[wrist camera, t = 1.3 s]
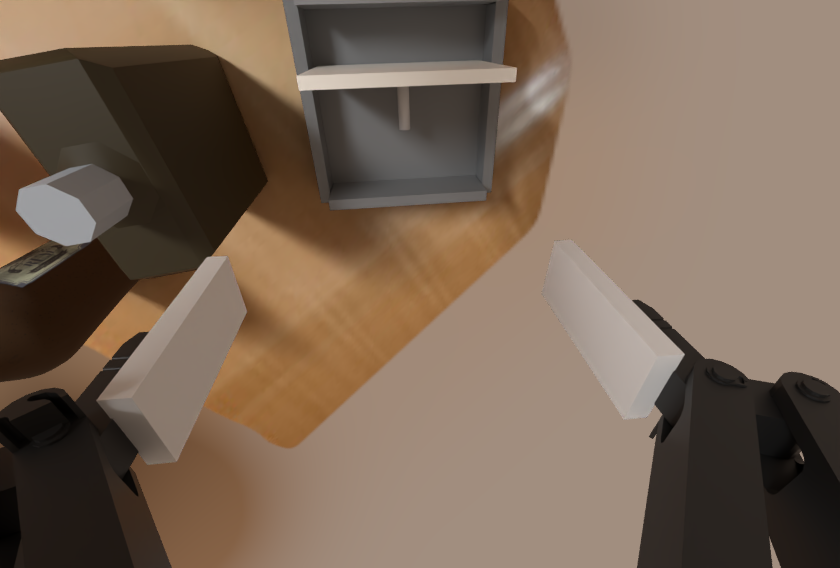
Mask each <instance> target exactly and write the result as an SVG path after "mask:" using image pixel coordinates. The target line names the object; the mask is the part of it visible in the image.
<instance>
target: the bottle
mask: <svg viewBox="0 0 840 568" xmlns="http://www.w3.org/2000/svg"><path fill="white" fill-rule="evenodd" d="M0 111H1V112H2V113H3V115H4V116H5V117H6V119H7V120H8V121H9V123H10V124H11V125H12V127H13V128H14V129H15V131H16V132H17V133H18V134H19V136H20V137H21V138H22V140H23V141H24V142H25V144H26V145H27V146H28V148H29V149H30V150H31V152H32V153H33V154H34V156H35V157H36V158H37V159H38V161H39V162H40V163H41V165H42V166H43V167H44V169H45V170H46V171H47V173H48V174H49V175H50V176H49V177H47V178H45V179H42V180H40V181H37V182H35V183H33V184H30V185H28V186H25V187H23V188H21V189H19V193H18V199H17V205H16V212H17V213H18V214H19V215H20V216H21V217H22V218H23V220H24V221H25V222H26V223H27V224H28V225H29V227H30V228H31V229H32V230H33V231H34V232H35V233H36V234H37V235H40V236H42V237H45V238H47V239H50V240H52V241H55V242H57V243H60V244H62V245H65V246H70V245H76V244H81V243H87V242H91V241H92V240H94V239H95V238H98V240H99V241H100V242H101V244H102V245H103V246H104V248H105V249H106V250H107V252H108V253H109V254H110V256H111V257H112V258H113V259H114V261H115V262H116V263H117V265H118V266H119V267H120V269H121V270H122V271H123V272H124V273H125V274H126V275H127V276H128V278H129V279H130V280H136V279H146V278H155V277H160V276H166V275H171V274H177V273H182V272H187V271H193V270H197V269H198V268H199V267H200V265H201V264H202V263H203V261H204V260H205V259H206V258H207V257H211V256H212V255H213V253H214V252H215V251H216V249H217V248H218V247H219V246H220V244H221V243H222V242H223V240H224V239H225V238H226V236H227V235H228V234H229V232H230V231H231V230H232V228H233V227H234V226H235V224H236V223H237V222H238V220H239V219H240V218H241V216H242V215H243V214H244V212H245V211H246V210H247V208H248V207H249V206H250V205H251V203H252V202H253V201H254V199H255V198H256V197H257V195H258V194H259V193H260V191H261V190H262V189H263V187H264V186H265V185H266V183H267V182H268V180H267V178H266V175H265V173H264V171H263V168H262V166H261V163H260V161H259V158H258V156H257V153H256V151H255V148H254V146H253V143H252V141H251V139H250V136H249V134H248V131H247V129H246V126H245V124H244V121H243V119H242V116H241V114H240V111H239V109H238V107H237V104H236V102H235V99H234V97H233V94H232V92H231V89H230V87H229V84H228V82H227V79H226V77H225V74H224V72H223V70H222V67H221V65H220V62H219V60H218V57H217V56H216V55H214V54H213V53H211V52H210V51H208V50H206V49H203V48H200V47H197V46H194V45H164V46H126V47H89V48H63V49H58V50H52V51H47V52H42V53H36V54H31V55H25V56H20V57H15V58H9V59H4V60H0Z"/></svg>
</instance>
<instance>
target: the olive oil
mask: <svg viewBox="0 0 840 568" xmlns="http://www.w3.org/2000/svg"><path fill="white" fill-rule="evenodd" d="M138 280H139V279H136V280H130V279H129V278H128V276H127V275H126V274H125V273H124V272H123V271H122V270H121V269H120V267H119V266H118V265H117V263H116V262H115V261H114V259H113V258H112V257H111V256H110V254H109V253H108V252H107V250H106V249H105V248H104V246H103V245H102V244H101V242H100V241H99V240H98V238H95V239H94V240H92V241H91V242H87V243H81V244H76V245H70V246H65V245H62V244H60V243H57V242H55V241H52V240H51V241H49V242H47V243H46V244H44V245H42V246H40V247H38V248H37V249H35V250H33V251H31V252H29V253H27V254H25V255H24V256H22V257H20V258H18V259H16V260H14V261H12V262H11V263H9V264H7V265H5V266H3V267H1V268H0V382H4V381H12V380H20V379H26V378H31V377H34V376H38V375H41V374H44V373H46V372H48V371H50V370H52V369H54V368H56V367H58V366H59V365H61V364H63V363H64V362H66V361H67V360H68V359H70V358H71V357H72V356H73V355H74V354H75V353H76V352H77V351H78V350H79V349H80V347H81V346H82V345H83V344H84V343H85V342H86V341H87V339H88V338H89V337H90V336H91V335H92V333H93V332H94V331H95V330H96V329H97V327H98V326H99V325H100V324H101V323H102V321H103V320H104V319H105V318H106V317H107V316H108V314H109V313H110V312H111V311H112V310H113V309H114V307H115V306H116V305H117V304H118V303H119V302H120V300H121V299H122V298H123V297H124V296H125V295H126V294H127V293H128V291H129V290H130V289H131V288H132V287H133V286H134V285H135V284H136V283H137V282H138Z"/></svg>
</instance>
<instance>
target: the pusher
mask: <svg viewBox="0 0 840 568" xmlns="http://www.w3.org/2000/svg"><path fill="white" fill-rule="evenodd" d="M516 74H517V68H516V67H511V66H506V65H501V64H496V63H491V62H486V61H481V60H467V61H439V62H411V63H383V64H355V65H327V66H317V67H315V68H312V69H310V70H308V71H306V72H304V73H302V74H299V75H297V76H296V77H297V83H298V88H299V91H303V90H328V89H353V88H378V87H397V96H398V114H399V130H410V109H409V86H427V85H452V84H477V83H502V82H516Z"/></svg>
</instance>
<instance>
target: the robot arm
mask: <svg viewBox="0 0 840 568" xmlns="http://www.w3.org/2000/svg"><path fill="white" fill-rule="evenodd" d="M542 295H543V297H544V298H545V300H546V301H547V303H548V304H549V306H550V307H551V309H552V310H553V312H554V313H555V315H556V317H557V318H558V320H559V321H560V323H561V324H562V326H563V327H564V329H565V330H566V332H567V333H568V335H569V336H570V338H571V339H572V341H573V342H574V344H575V345H576V347H577V349H578V350H579V352H580V353H581V355H582V356H583V358H584V359H585V361H586V362H587V364H588V365H589V367H590V368H591V370H592V372H593V373H594V375H595V376H596V378H597V379H598V381H599V382H600V384H601V385H602V387H603V388H604V390H605V391H606V393H607V394H608V396H609V397H610V399H611V400H612V402H613V403H614V405H615V407H616V408H617V410H618V411H619V413H620V414H621V416H622V417H623V419H635V418H645V417H648V415H649V413H650V412H651V410H652V408H653V407H654V405H656V407H657V408H658V409H659V410H660V412H661V413H662V414H663V415H662V416H661V418H660V420H659V421H658V423H657V424H656V426H655V427H654V429H653V431H652V432H651V434H650V436H649V437H650V438H652V439H653V438H654V437H655V435H656V434H657V435H656V442H655V448H654V455H653V462H652V469H651V476H650V483H649V489H648V496H647V503H646V510H645V517H644V524H643V531H642V537H641V544H640V551H639V558H638V566H637V568H772V559H771V550H770V541H769V537H770V539H771V542H772V545H773V547H774V550H775V553H776V556H777V558H778V561H779V563H780V566H781V568H840V393H839V392H838V391H837V390H836V389H834V388H833V387H831V386H830V385H828V384H827V383H826V382H824V381H822V380H819V379H818V378H815V377H813V376H809V375H806V374H803V373H797V372H788V373H784V374H783V375H782V376H781V377H780V378H779V379H778V381H777V382H776V383H775V384H774V383H768V382H762V381H756V380H751V379H748V378H747V377H746V376H745V375H744V374H743V373H742V372H740V371H739V370H737V369H736V368H734V367H733V366H731V365H728V364H726V363H724V362H722V361H718V360H714V359H705V358H704V357H703V356H702V355H701V354H700V353H699V352H697V350H696V349H694V348H693V347H692V346H691V345H690V344H689V343H688V342H687V341H686V340H685V339H684V338H683V337H682V336H681V335H680V334H679V333H678V332H677V331H676V330H675V329H672V326H670V324H668V322H666V321H664V320H663V318H662V317H661V316H660V315H659V314H658V313H657V312H656V311H655V310H654V309H653V308H652V307H649V306H648V305H646V304H645V303H643V302H641V301H639V300H631V299H630V298H629V297H628V296H627V295H626V294H625V293H624V292H623V291H622V290H621V289H620V288H619V287H618V286H617V285H616V284H615V283H614V282H613V281H612V280H611V279H610V278H609V277H608V276H607V275H606V274H605V273H604V272H603V271H602V270H601V269H600V268H599V267H598V266H597V265H596V264H595V263H594V262H593V261H592V260H591V258H589V256H588V255H587V254H585V252H584V251H583V250H582V249H581V248H580V247H579V246H578V245H577V244H576V243H575V242H574V241H573V240H557V241H554V245H553V249H552V253H551V257H550V261H549V266H548V270H547V274H546V278H545V282H544V286H543V290H542ZM246 313H247V310H246V307H245V304H244V301H243V298H242V295H241V292H240V290H239V287H238V284H237V281H236V278H235V275H234V272H233V269H232V267H231V264H230V261H229V258H228V256H216V257H207V258H206V259H205V260H204V261H203V263H202V264H201V265H200V267H199V268H198V269H197V271H196V272H195V273H194V274H193V276H192V277H191V278H190V280H189V281H188V282H187V284H186V285H185V286H184V287H183V289H182V290H181V291H180V293H179V294H178V295H177V296H176V298H175V299H174V300H173V302H172V303H171V304H170V306H169V307H168V308H167V309H166V311H165V312H164V313H163V315H162V316H161V317H160V319H159V320H158V321H157V322H156V324H155V325H154V326H153V328H152V329H151V330H150V331H149V332H139V333H138V334H136V335H135V336H134V337H132V338H131V339H129V340H128V341H127V342H125V343H124V344H123V345H122V346H121V347H120V348H119V350H118V351H117V352H116V353H115V354H114V356H113V357H112V360H109V362H108V363H107V364H106V365H105V367H104V368H103V371H101V372H100V373H99V374H98V375H97V376H96V377H95V379H94V380H93V381H92V382H91V384H90V385H89V386H88V387H87V388H86V389H85V391H84V392H83V393H82V394H81V396H80V397H79V398H78V399H77V400H76V402H74V401H73V400H72V398H71V397H70V396H69V395H68V394H67V393H66V392H65V390H63V389H58V388H50V389H43V390H39V391H36V392H34V393H31V394H28V395H25V396H24V397H22V398H20V399H18V400H16V401H14V402H12V403H11V404H10V405H8V406H7V407H5V408H4V409H3V410H1V411H0V443H1V444H2V445H3V446H4V447H2V448H0V568H172V567H171V565H170V562H169V559H168V557H167V554H166V552H165V549H164V547H163V544H162V541H161V539H160V536H159V533H158V531H157V529H156V526H155V523H154V520H153V518H152V515H151V513H150V510H149V508H148V505H147V502H146V500H145V497H144V494H143V492H142V489H141V487H140V484H139V482H138V479H137V476H136V474H135V472H134V471H133V470H132V468H131V467H130V466H131V464H132V462H133V460H134V459H135V457H136V455H137V453H139V455H140V456H141V457H142V458H143V460H144V461H145V462H146V463H147V464H158V463H170V462H177V460H178V458H179V456H180V454H181V451H182V450H183V447H184V445H185V443H186V441H187V439H188V437H189V435H190V432H191V430H192V428H193V426H194V424H195V422H196V420H197V418H198V415H199V413H200V411H201V409H202V407H203V405H204V403H205V400H206V398H207V396H208V394H209V392H210V390H211V388H212V386H213V383H214V381H215V379H216V377H217V375H218V373H219V371H220V369H221V366H222V364H223V362H224V360H225V358H226V356H227V354H228V351H229V349H230V347H231V345H232V343H233V341H234V339H235V337H236V334H237V332H238V330H239V328H240V326H241V324H242V322H243V319H244V317H245V315H246ZM801 451H802V453H803V456H804V461H803V459H802V457H801V456H800V454H799V453H800V452H801Z"/></svg>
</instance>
